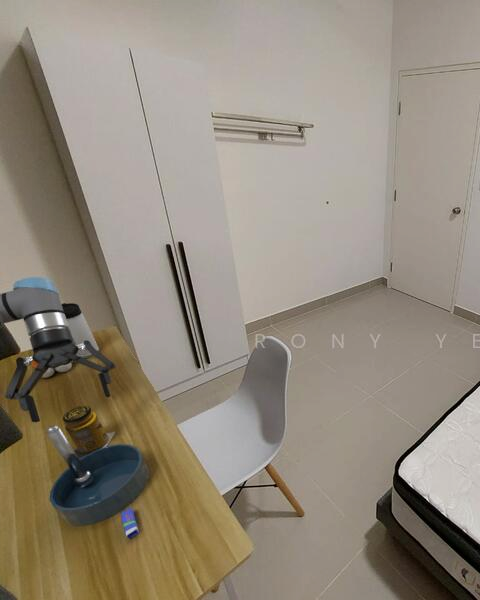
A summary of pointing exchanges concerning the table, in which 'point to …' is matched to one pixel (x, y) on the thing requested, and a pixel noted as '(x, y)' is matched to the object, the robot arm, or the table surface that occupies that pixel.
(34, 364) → the rainbow petal flower
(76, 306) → the travel mug
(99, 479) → the bowl
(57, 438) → the silver-tipped handle
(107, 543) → the table surface
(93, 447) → the condiment
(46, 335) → the robot arm
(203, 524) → the table surface
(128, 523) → the eraser
